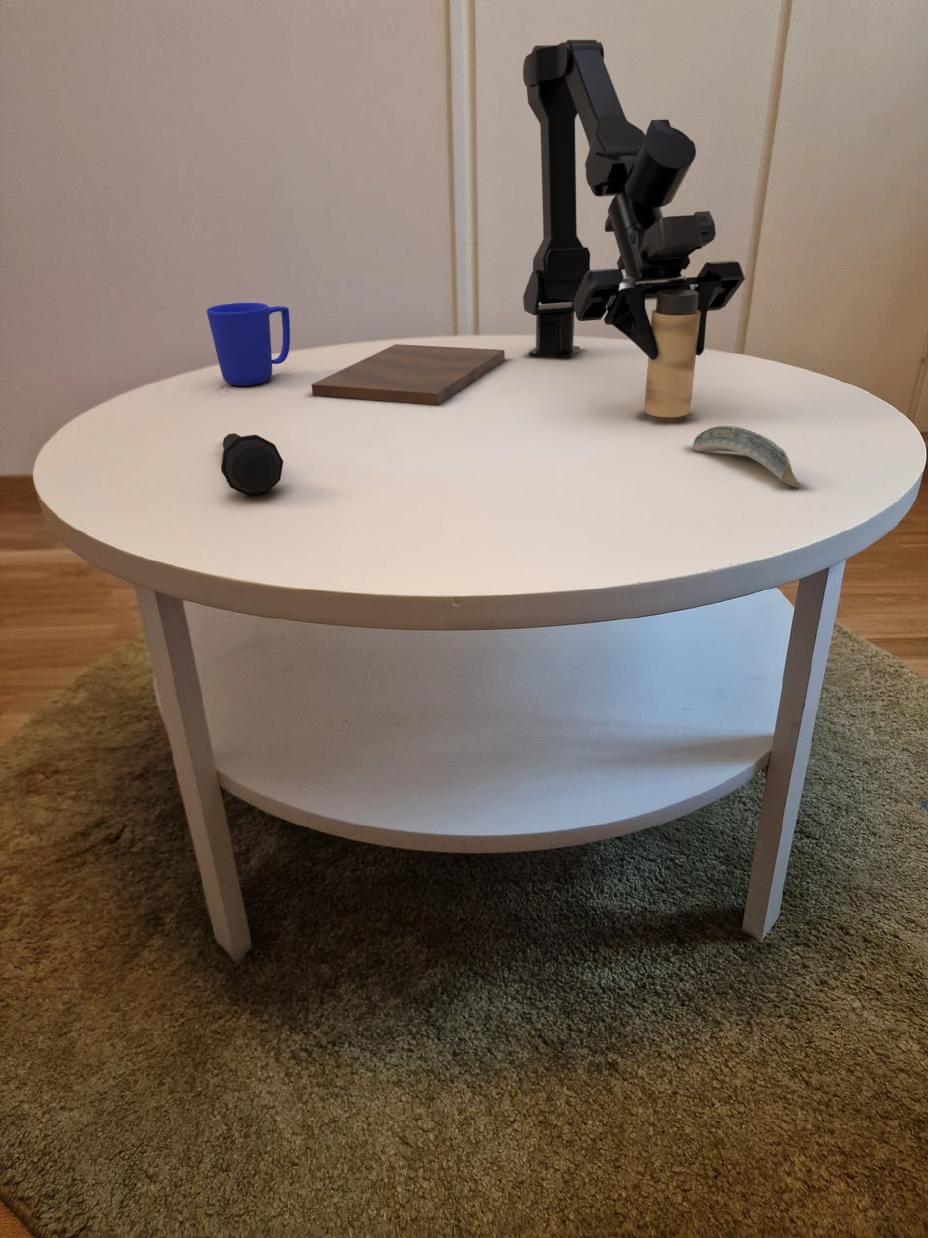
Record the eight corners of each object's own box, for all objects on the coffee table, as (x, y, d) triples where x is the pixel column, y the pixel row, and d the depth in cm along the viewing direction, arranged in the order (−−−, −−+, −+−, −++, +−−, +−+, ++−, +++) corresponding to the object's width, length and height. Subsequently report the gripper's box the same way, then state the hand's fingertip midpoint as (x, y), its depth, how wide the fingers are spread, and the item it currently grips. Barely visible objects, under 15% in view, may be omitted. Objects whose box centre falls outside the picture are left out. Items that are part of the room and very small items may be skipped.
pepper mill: (648, 403, 102) (658, 287, 95) (692, 406, 100) (705, 289, 94) (640, 415, 97) (649, 295, 91) (686, 418, 96) (699, 297, 89)
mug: (311, 375, 122) (303, 301, 118) (240, 392, 115) (228, 314, 110) (277, 367, 127) (268, 296, 123) (207, 383, 120) (194, 308, 115)
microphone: (219, 472, 95) (244, 512, 78) (193, 425, 93) (213, 455, 75) (262, 450, 96) (298, 485, 79) (238, 403, 94) (269, 428, 76)
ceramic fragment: (690, 448, 89) (694, 411, 87) (731, 441, 91) (736, 405, 89) (781, 493, 78) (788, 453, 76) (826, 484, 79) (834, 444, 77)
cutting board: (396, 353, 133) (395, 343, 133) (504, 359, 128) (504, 349, 127) (312, 395, 112) (311, 384, 112) (438, 405, 107) (437, 393, 106)
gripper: (587, 187, 88) (625, 316, 85) (748, 180, 92) (790, 303, 89) (558, 260, 99) (590, 378, 95) (703, 251, 103) (740, 363, 99)
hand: (677, 355), depth 94 cm, fingers closed on pepper mill, 5 cm apart
